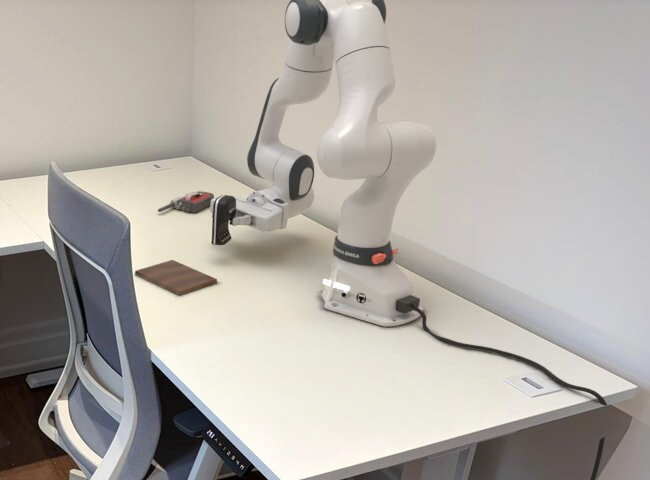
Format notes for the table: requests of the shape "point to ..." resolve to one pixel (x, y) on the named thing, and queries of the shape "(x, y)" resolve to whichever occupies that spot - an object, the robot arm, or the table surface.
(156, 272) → the board
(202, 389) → the table surface
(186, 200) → the walkie-talkie
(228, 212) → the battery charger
